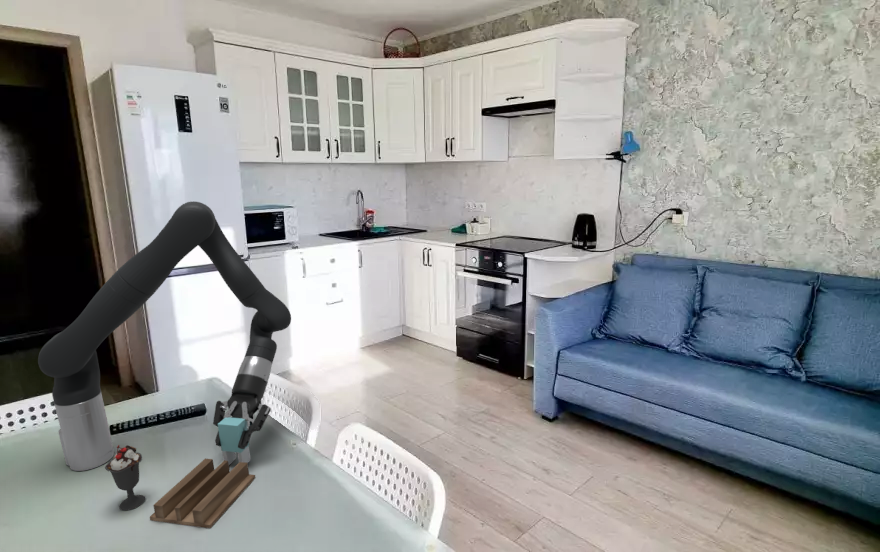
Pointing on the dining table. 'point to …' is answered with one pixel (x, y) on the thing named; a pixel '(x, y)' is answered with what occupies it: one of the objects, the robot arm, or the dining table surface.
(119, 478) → the sundae
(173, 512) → the rail
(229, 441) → the aqua box with feet
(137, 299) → the robot arm
